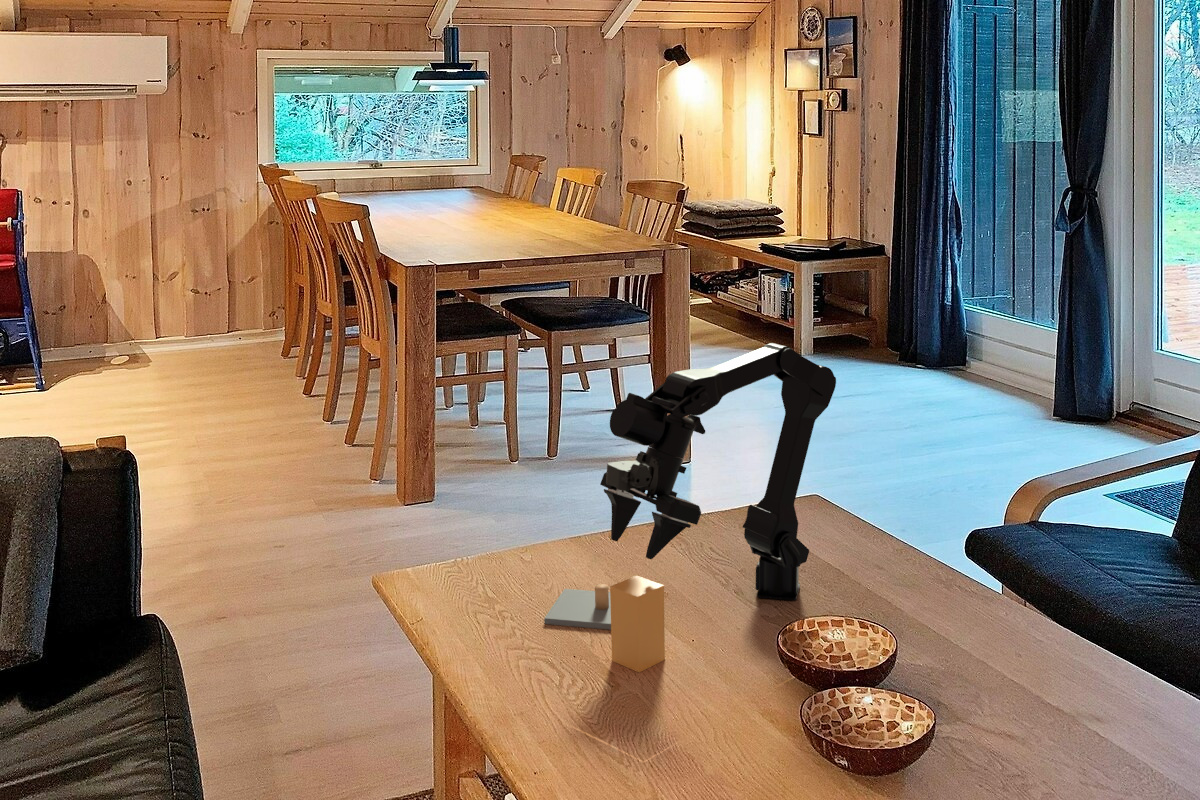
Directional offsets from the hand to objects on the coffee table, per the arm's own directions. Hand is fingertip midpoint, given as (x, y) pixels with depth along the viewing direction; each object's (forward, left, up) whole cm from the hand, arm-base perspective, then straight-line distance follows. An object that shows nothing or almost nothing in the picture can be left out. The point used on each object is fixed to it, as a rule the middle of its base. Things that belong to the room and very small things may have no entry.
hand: (631, 549), depth 197 cm
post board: (+7, -8, -15) cm, 18 cm away
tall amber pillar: (-2, +7, -15) cm, 17 cm away
